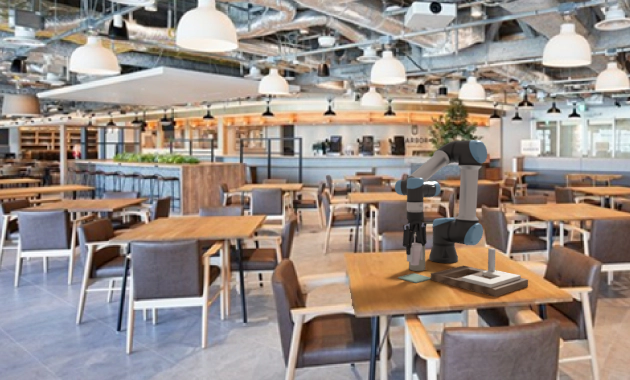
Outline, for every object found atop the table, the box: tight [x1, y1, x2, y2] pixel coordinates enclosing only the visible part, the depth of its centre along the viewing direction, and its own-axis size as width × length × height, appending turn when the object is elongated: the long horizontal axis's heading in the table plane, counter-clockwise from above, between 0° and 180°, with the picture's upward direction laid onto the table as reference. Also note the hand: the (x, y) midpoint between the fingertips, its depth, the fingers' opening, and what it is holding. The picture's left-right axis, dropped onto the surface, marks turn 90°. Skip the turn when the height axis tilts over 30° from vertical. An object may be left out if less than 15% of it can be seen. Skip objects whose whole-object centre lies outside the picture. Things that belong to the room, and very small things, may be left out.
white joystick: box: [462, 247, 522, 288], centre depth 201 cm, size 14×22×12 cm, turn 126°
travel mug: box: [408, 232, 426, 272], centre depth 233 cm, size 8×8×18 cm
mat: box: [397, 272, 431, 284], centre depth 216 cm, size 11×11×1 cm
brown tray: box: [430, 265, 529, 298], centre depth 208 cm, size 33×24×3 cm
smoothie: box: [410, 234, 422, 265], centre depth 215 cm, size 6×6×14 cm
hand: (414, 260), depth 216 cm, fingers closed on smoothie, 6 cm apart
